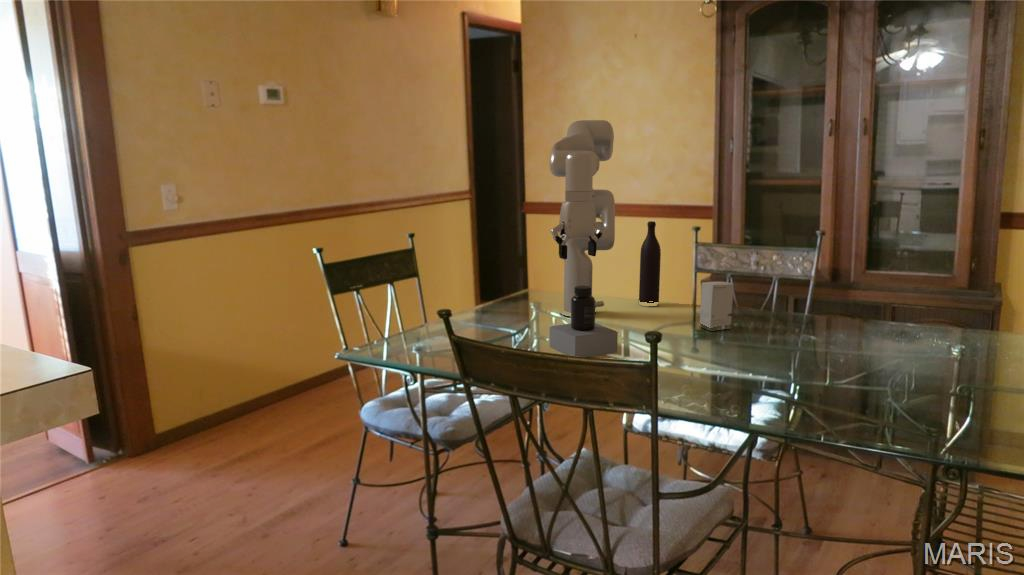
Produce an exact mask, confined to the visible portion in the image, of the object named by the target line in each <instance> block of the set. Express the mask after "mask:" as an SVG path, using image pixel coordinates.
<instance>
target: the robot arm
mask: <svg viewBox="0 0 1024 575" xmlns="http://www.w3.org/2000/svg"><path fill="white" fill-rule="evenodd" d="M614 133H615V132H614V129H613V126H612V124H611V122H609V121H608V120H604V119H601V120H600V119H599V120H598V119H595V120H594V119H592V120H591V119H581V120H575V121H573V122H572V123H571V124H570V125H569V126H568V129H567V132H566V136H564V137H562V138H561V139H560V140H558V141H556V143H554V144H553V146H551V150H550V153H549V154H550V155H549V162H548V163H549V170H550V172H551V174H552V176H554V177H557V178H559V177H561V178H563V177H564V179H565V186H564V187H565V189H564V190H565V193H564V194H565V195H564V201H562V203H561V207H560V212H559V220H558V221H559V222H558V225H556V226H555V227H553V228H551V230H550V234H551V235H552V238H553V240H554V241H555V242H556V244H557V245H558V256H559V259H562V260H563V262H564V264H563V266H564V267H563V268H564V270H563V272H564V275H563V276H564V277H563V280H564V281H563V290H564V291H563V308H564V311H566V312H569V313H571V299H572V297H573V296H575V294H574V292H575V287H576V286H590V287H591V288H592V290H591V292H592V294H591V296H593V261H592V259H591V257H596V256H597V251H609V250H611V249H612V248H613V247H614V244H615V238H616V235H615V234H616V224H615V223H616V211H615V210H616V206H615V205H616V203H615V201H616V200H615V197H614V194H613V192H612V191H610V190H609V189H594V187H593V181H594V180H593V178H594V176H595V175H597V173H598V172H599V170H600V162H607V161H609V160H610V159H611V158H612V156H613V153H614V142H615V141H614V139H615V135H614ZM597 219H599V220H600V221H597ZM586 251H587V253H586ZM589 256H590V257H589ZM604 306H605V303H604V301H603V300H600V301H597V300H595V309H596V308H600V307H604Z"/></svg>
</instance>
